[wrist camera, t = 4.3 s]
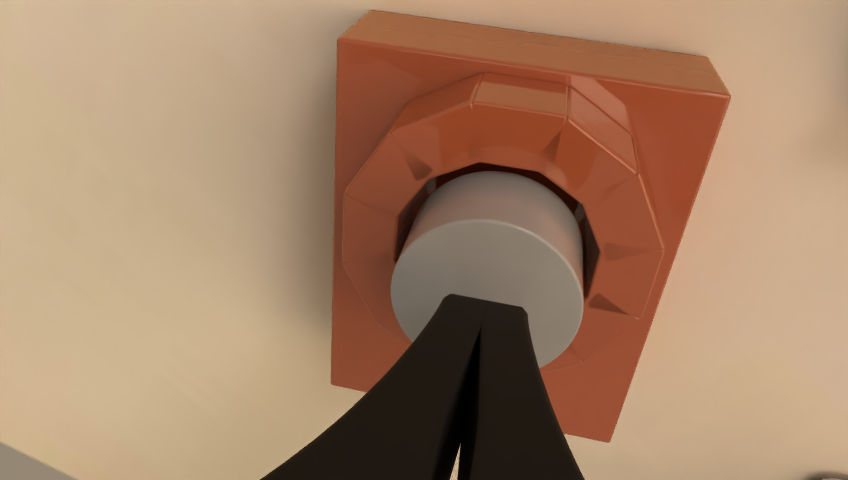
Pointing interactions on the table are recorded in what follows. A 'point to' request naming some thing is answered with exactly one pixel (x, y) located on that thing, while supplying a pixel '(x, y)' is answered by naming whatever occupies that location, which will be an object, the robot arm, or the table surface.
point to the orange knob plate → (524, 155)
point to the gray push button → (494, 256)
